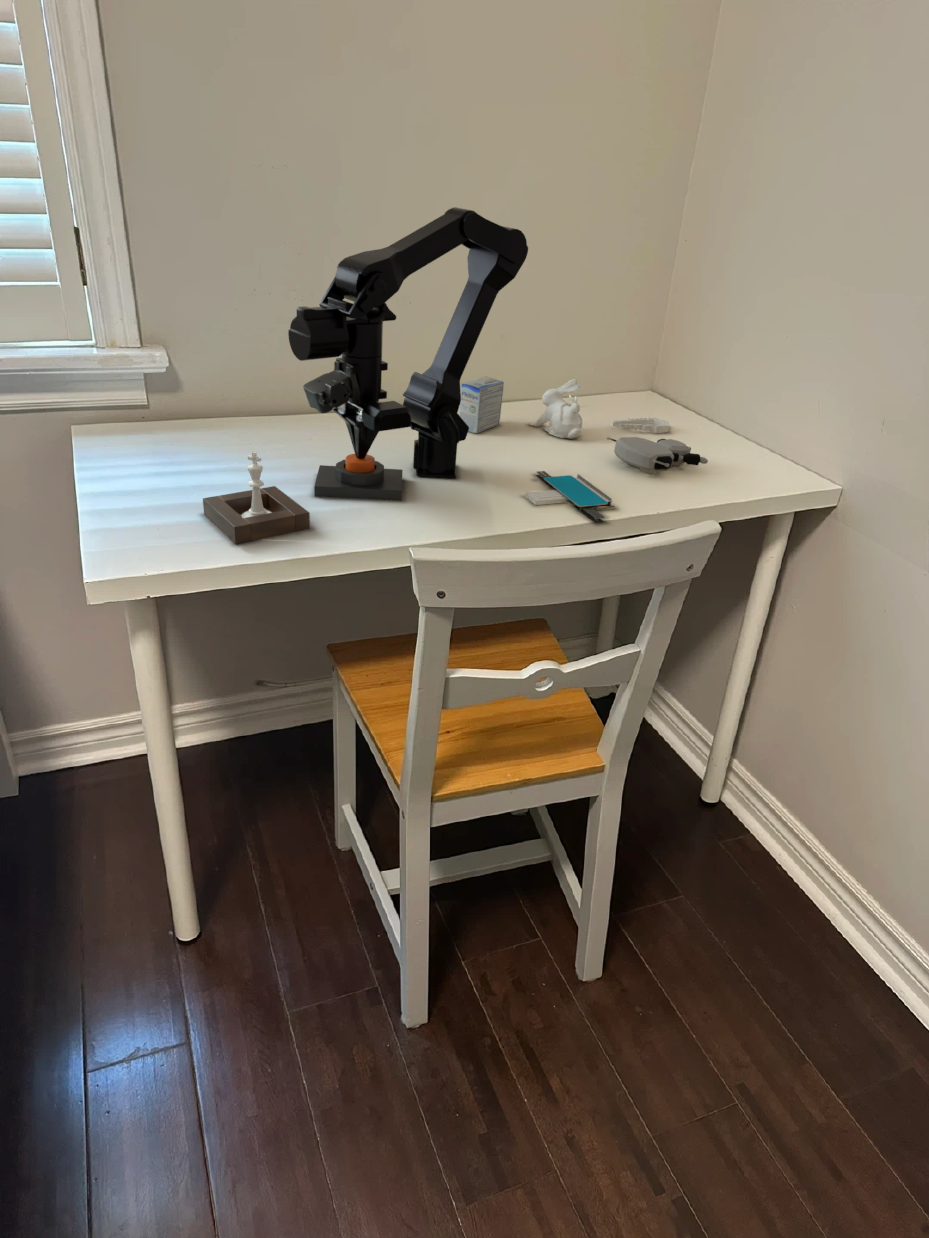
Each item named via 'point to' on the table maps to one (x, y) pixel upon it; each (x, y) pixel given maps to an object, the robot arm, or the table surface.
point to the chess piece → (255, 488)
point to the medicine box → (481, 403)
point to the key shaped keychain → (643, 424)
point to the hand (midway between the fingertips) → (360, 458)
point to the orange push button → (360, 463)
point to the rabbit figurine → (561, 412)
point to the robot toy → (655, 453)
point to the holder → (242, 530)
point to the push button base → (358, 483)
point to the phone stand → (572, 495)
